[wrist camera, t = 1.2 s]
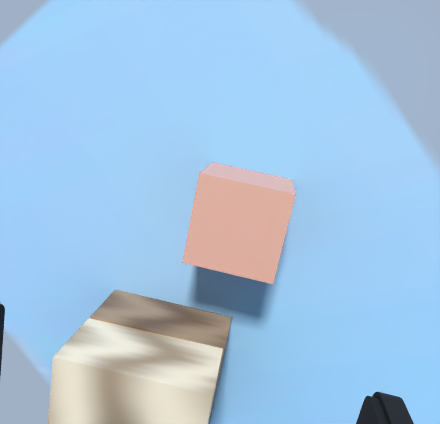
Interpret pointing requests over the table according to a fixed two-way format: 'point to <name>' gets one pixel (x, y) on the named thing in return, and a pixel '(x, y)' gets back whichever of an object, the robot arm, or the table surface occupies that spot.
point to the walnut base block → (166, 320)
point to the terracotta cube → (239, 222)
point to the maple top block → (131, 378)
